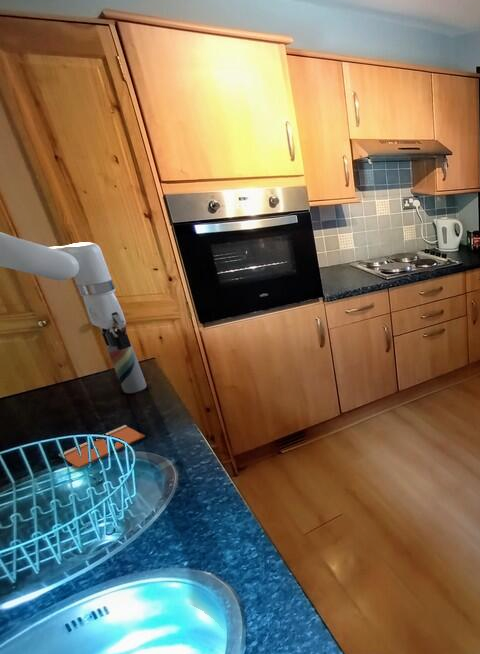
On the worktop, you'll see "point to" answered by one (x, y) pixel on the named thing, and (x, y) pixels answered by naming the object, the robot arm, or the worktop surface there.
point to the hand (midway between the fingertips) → (118, 345)
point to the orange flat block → (101, 446)
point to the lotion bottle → (125, 366)
